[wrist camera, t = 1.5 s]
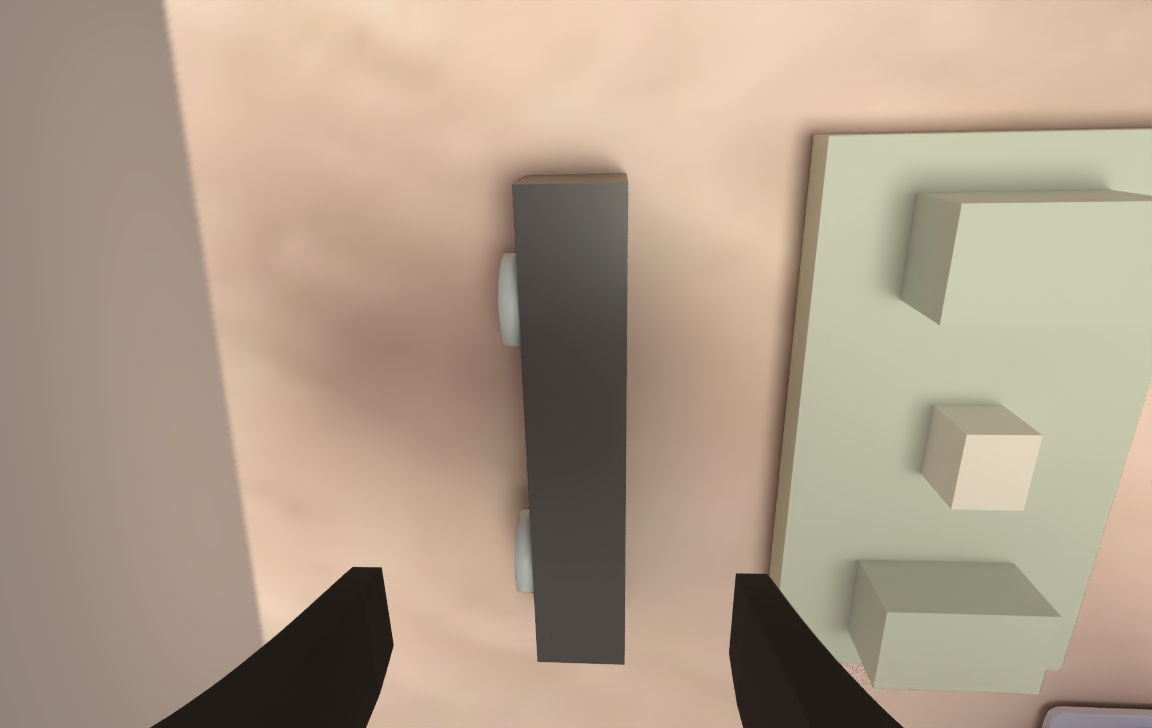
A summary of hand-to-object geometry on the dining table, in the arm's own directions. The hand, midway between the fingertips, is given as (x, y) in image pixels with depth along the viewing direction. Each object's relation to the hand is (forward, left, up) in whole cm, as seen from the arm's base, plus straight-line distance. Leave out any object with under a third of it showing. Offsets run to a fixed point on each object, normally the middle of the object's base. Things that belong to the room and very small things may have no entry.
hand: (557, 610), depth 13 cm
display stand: (0, -12, -10) cm, 15 cm away
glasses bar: (0, 0, -10) cm, 10 cm away
